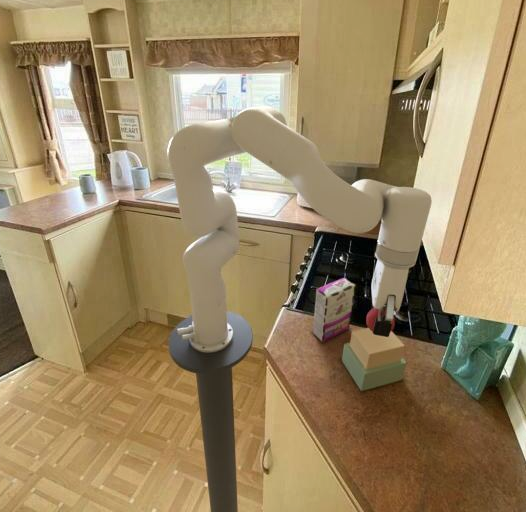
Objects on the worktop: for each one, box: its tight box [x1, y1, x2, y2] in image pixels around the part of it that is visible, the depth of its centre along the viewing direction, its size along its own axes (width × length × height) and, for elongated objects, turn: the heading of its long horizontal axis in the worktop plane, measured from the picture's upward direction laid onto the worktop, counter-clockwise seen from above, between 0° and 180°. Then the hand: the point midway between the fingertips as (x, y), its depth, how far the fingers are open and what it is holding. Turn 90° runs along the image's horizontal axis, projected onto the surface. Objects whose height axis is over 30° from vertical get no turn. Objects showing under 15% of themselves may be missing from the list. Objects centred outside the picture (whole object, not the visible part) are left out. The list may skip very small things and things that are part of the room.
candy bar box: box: [312, 277, 356, 343], centre depth 92 cm, size 11×5×16 cm, turn 123°
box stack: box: [341, 327, 408, 392], centre depth 81 cm, size 12×10×11 cm
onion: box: [365, 305, 396, 336], centre depth 68 cm, size 6×6×8 cm
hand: (379, 323), depth 68 cm, fingers closed on onion, 5 cm apart
